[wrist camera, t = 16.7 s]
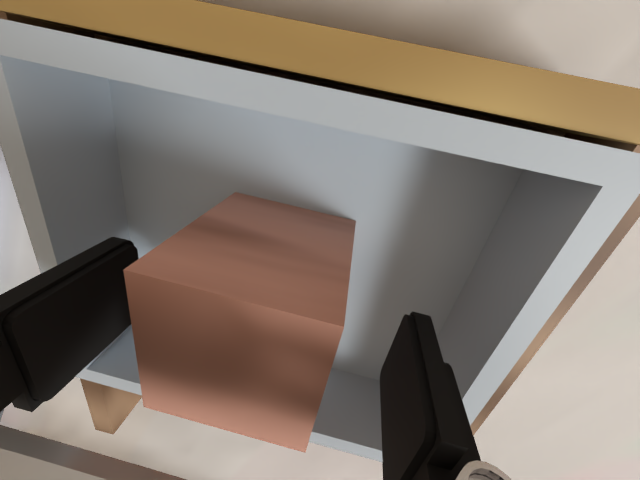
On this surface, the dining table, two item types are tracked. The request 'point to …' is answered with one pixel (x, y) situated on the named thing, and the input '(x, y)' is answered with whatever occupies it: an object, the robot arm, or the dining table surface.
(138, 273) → the block
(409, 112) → the grey tray
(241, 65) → the bay
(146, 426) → the dining table surface
